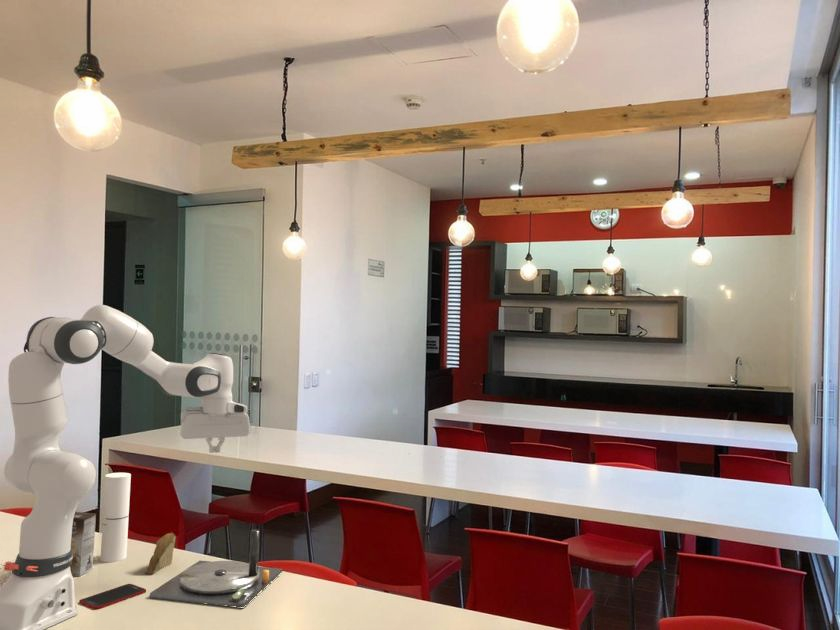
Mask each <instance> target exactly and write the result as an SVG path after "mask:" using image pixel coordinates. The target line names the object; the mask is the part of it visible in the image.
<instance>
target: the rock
mask: <svg viewBox="0 0 840 630" xmlns="http://www.w3.org/2000/svg"><path fill="white" fill-rule="evenodd" d="M176 539H177V537H176V534H175V533H173V532H169V533H166V534H164V535H163V536H161V537H160V538H159V539H158V540H156V542H155V543H156V545H155V549H154V551H153V555H152V556H151V558H150V560H149V563H148V566H147V567H146V570H145V573H146V574H148V575H154V574H156V573H157V571H158V572H159V570H160V569H161V570H163V569H162V568H164V567H165V568H167V567H168V566H170V565H171V564H172V563H173V562H172V561H173V554H174V552H173V551H174V548H175V543H176ZM166 566H167V567H166ZM165 568H164V569H165ZM161 570H160V571H161Z"/></svg>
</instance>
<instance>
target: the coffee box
mask: <svg viewBox="0 0 840 630" xmlns="http://www.w3.org/2000/svg"><path fill="white" fill-rule="evenodd" d="M96 517H97V513H94V512H93V513H91V512H82V511H75V514H74V518H73V525H72V537H71V549H72V555H73V558H72V564H71V566H70V570H71V574H72V577H81V576H83V575H85V574H86V573H88V572H90V571H91V570H93V565H94V552H95V551H94V550H95V537H96V536H95V534H96V521H97V518H96Z"/></svg>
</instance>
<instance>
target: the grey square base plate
mask: <svg viewBox="0 0 840 630" xmlns="http://www.w3.org/2000/svg"><path fill="white" fill-rule="evenodd" d="M207 562H211V561H209V560H201V559H200V560H198V561H196V562H195V563H194V564H192V565H190V566H189V567H187V568H186V569H188V568H190V567H192V566H195V565H198V564H202V563H207ZM186 569H185V570H186ZM258 569H259V580H258V581H257V582H256V583H255V584H254V585H252V586H251V587H248V588H246V589H240V590H239V591H236V592H231V593H223V594H201V593H195V592H191V591H188V590H186V589H184V588H182V587H181V585H180V575H181V573H182V572H183V571H185V570H183V571H181V572H180V573H179V574H176V575H175V576H174V577H172V578H171V579H169V580H168V581H166V582H164V584H163V583H162V584H161V585H160V586H159V587H157V588H156V589H154V590H152V591H151V592H149V598H150V599H156V600H166V601H173V600H176V601H175V602H182V601H185V603H191V602H194V603H193V604H200V603H207V604H206V605H208V604H217V605H227V606H236V607H244V606H245V605H247V604H248V603H249V602H250V601H251V600H252V599H253V598H254V597H255V596H256V595H257V594H258V593H259V592H260V591H261V590H263V589H264V588H265V587H266V586H267V585H268V584H269V583H270V582H271V581H273V580H274V579H275V578H276V577H277V576H278V575H279V574H280V573H281V572H282V573H283V568H278V567H276V568H275V567H267V566H259V565H258ZM263 570H269V582H268V583H262V571H263ZM278 577H279V576H278ZM278 577H277V578H278ZM277 578H276V579H277ZM276 579H275V580H276ZM275 580H274V581H275ZM274 581H273V582H274ZM265 589H266V588H265ZM265 589H264V590H265ZM264 590H263V591H264ZM252 601H253V600H252ZM252 601H251V602H252ZM251 602H250V603H251ZM250 603H249V604H250ZM249 604H248V605H249ZM217 605H216V606H217ZM248 605H247V606H248Z"/></svg>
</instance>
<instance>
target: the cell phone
mask: <svg viewBox="0 0 840 630" xmlns="http://www.w3.org/2000/svg"><path fill="white" fill-rule="evenodd" d="M146 592H147V589H146V588H143V587H140V586H138V585H135V584H133V583H126V584H123V585H119V586H117V587H115V588H111V589H107V590H105V591H103V592H99V593H96V594H93V595H90V596H87V597H84V598H81V599H80V600H79V601H78V604H80V605H81V604H82V605H83V606H84V607H85V606H86V607H87V608H89V609H92V610H94V611H97V610H101V609H103V608H106V607H109V606H113V605H116V604H118V603H120V602H123V601H126V600H129V599H132V598H134V597H137V596H140V595H143V594H145V593H146Z"/></svg>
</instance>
